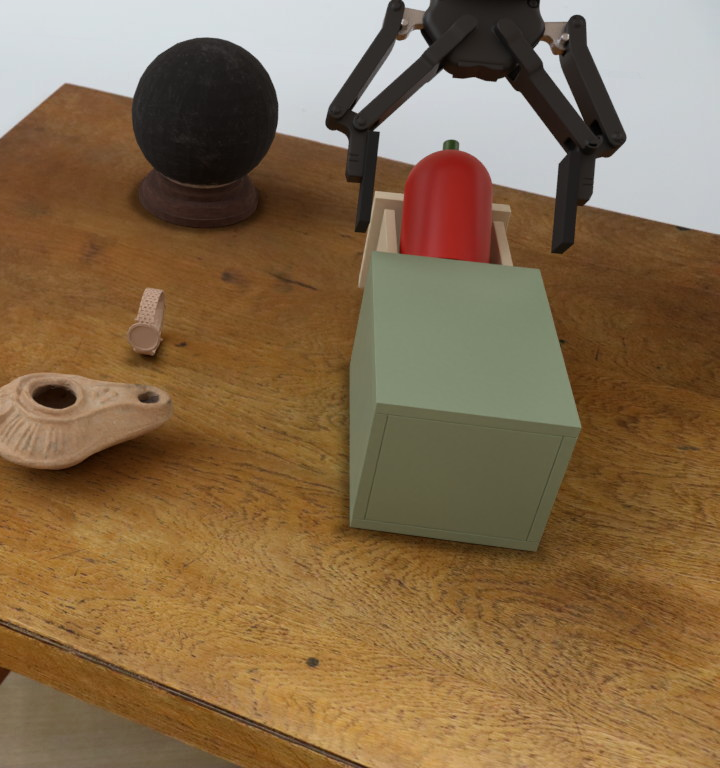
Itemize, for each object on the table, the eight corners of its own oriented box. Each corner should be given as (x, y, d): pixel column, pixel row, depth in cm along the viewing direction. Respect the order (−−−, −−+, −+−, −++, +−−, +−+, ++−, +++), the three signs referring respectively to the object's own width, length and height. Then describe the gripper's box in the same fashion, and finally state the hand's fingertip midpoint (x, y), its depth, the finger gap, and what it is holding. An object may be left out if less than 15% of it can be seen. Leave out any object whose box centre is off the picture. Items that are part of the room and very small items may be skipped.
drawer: (358, 248, 96) (374, 161, 91) (479, 262, 96) (502, 174, 90) (359, 400, 79) (379, 303, 74) (507, 418, 78) (538, 321, 73)
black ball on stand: (271, 237, 99) (291, 75, 90) (124, 228, 99) (130, 66, 90) (264, 170, 110) (282, 20, 101) (131, 162, 110) (137, 11, 101)
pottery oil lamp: (188, 473, 73) (162, 425, 67) (17, 517, 75) (-24, 474, 69) (167, 362, 77) (141, 308, 72) (6, 406, 79) (-33, 357, 73)
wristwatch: (125, 362, 83) (127, 306, 80) (139, 328, 87) (142, 273, 84) (160, 368, 83) (163, 312, 80) (173, 333, 86) (177, 279, 83)
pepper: (475, 301, 83) (482, 170, 87) (499, 264, 77) (505, 124, 81) (390, 290, 84) (400, 160, 87) (406, 253, 78) (417, 115, 81)
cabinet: (349, 365, 84) (371, 250, 78) (505, 384, 83) (539, 268, 77) (349, 527, 70) (376, 402, 64) (536, 552, 69) (581, 427, 63)
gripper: (318, -93, 77) (283, 202, 74) (691, -63, 74) (669, 242, 72) (310, -37, 84) (278, 233, 81) (649, -8, 82) (627, 271, 79)
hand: (461, 238), depth 76 cm, fingers open, 13 cm apart
